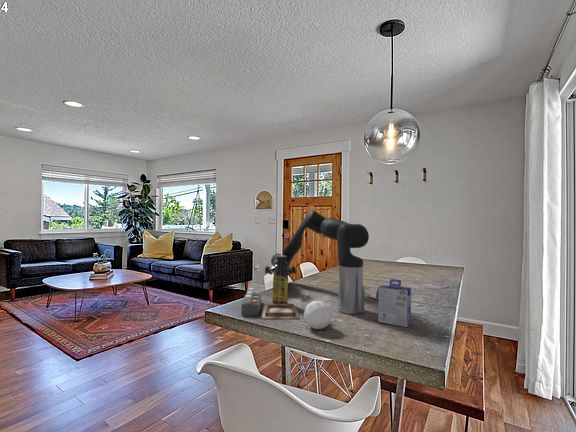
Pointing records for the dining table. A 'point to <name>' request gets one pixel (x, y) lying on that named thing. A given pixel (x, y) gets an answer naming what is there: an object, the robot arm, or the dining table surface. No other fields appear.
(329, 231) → the robot arm
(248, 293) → the breaker bank
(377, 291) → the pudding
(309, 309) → the faceted ball with stub
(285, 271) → the sauce bottle
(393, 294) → the ink cartridge box
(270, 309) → the square beige tray
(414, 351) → the dining table surface
